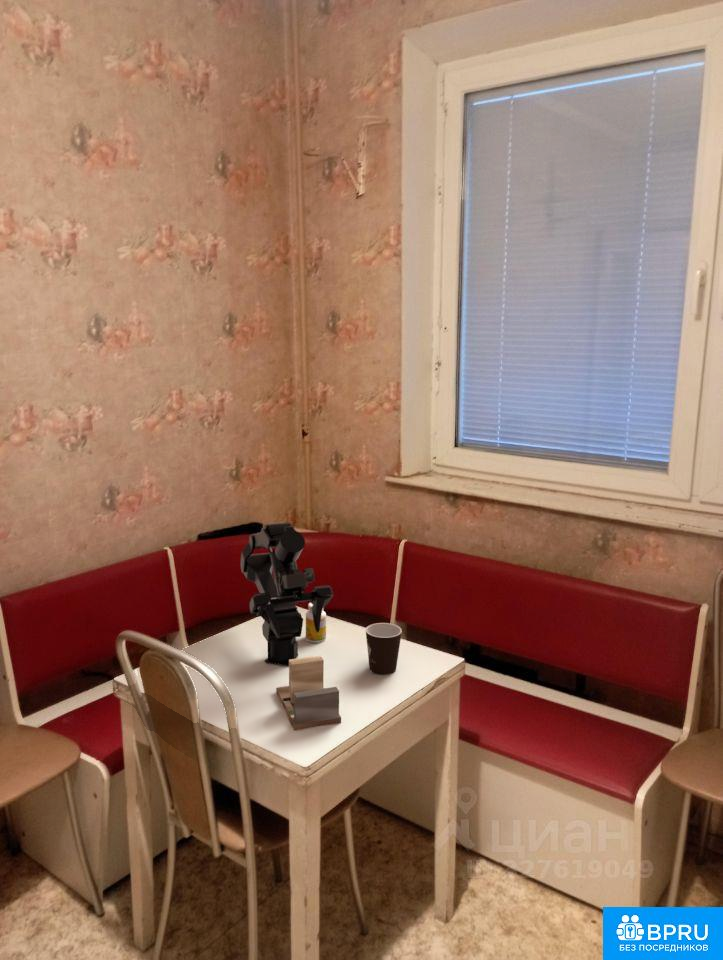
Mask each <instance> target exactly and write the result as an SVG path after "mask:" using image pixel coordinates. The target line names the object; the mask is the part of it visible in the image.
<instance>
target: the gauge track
mask: <svg viewBox="0 0 723 960" xmlns="http://www.w3.org/2000/svg"><path fill="white" fill-rule="evenodd" d="M275 689H276V695H277V697H278V699H279V701H280V703H281V706H282V708H283V709H284V712H285V714H286V716H287V718H288V721H289V722H290V725H291V728H292V729H293V731H300V730H301V731H302V730H305V729H311V728H313V729H314V728H317V727H324V726H328V725H329V726H330V725H334V724H335V725H336V724H340V723H342V716H341V715H340V690H339V689H338V687H337V686H332V687H331V686H330V687H325V688H324V687H323V689H317V690H311V691H304V692H298V693H294V704H292V703H291V701H284V702H283V698H288V697H289V685H285V686H278V687H276V688H275Z"/></svg>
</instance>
